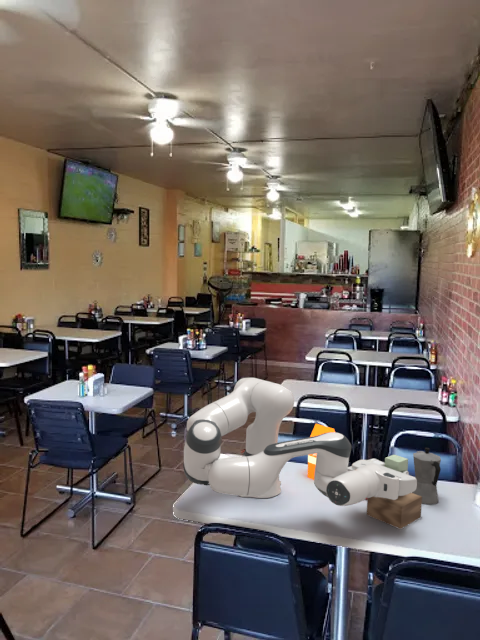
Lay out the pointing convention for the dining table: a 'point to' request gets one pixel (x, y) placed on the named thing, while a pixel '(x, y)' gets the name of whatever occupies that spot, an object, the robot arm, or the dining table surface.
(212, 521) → the dining table surface
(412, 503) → the walnut block
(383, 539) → the dining table surface
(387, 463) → the sage block
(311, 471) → the orange juice
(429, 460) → the coffeepot
